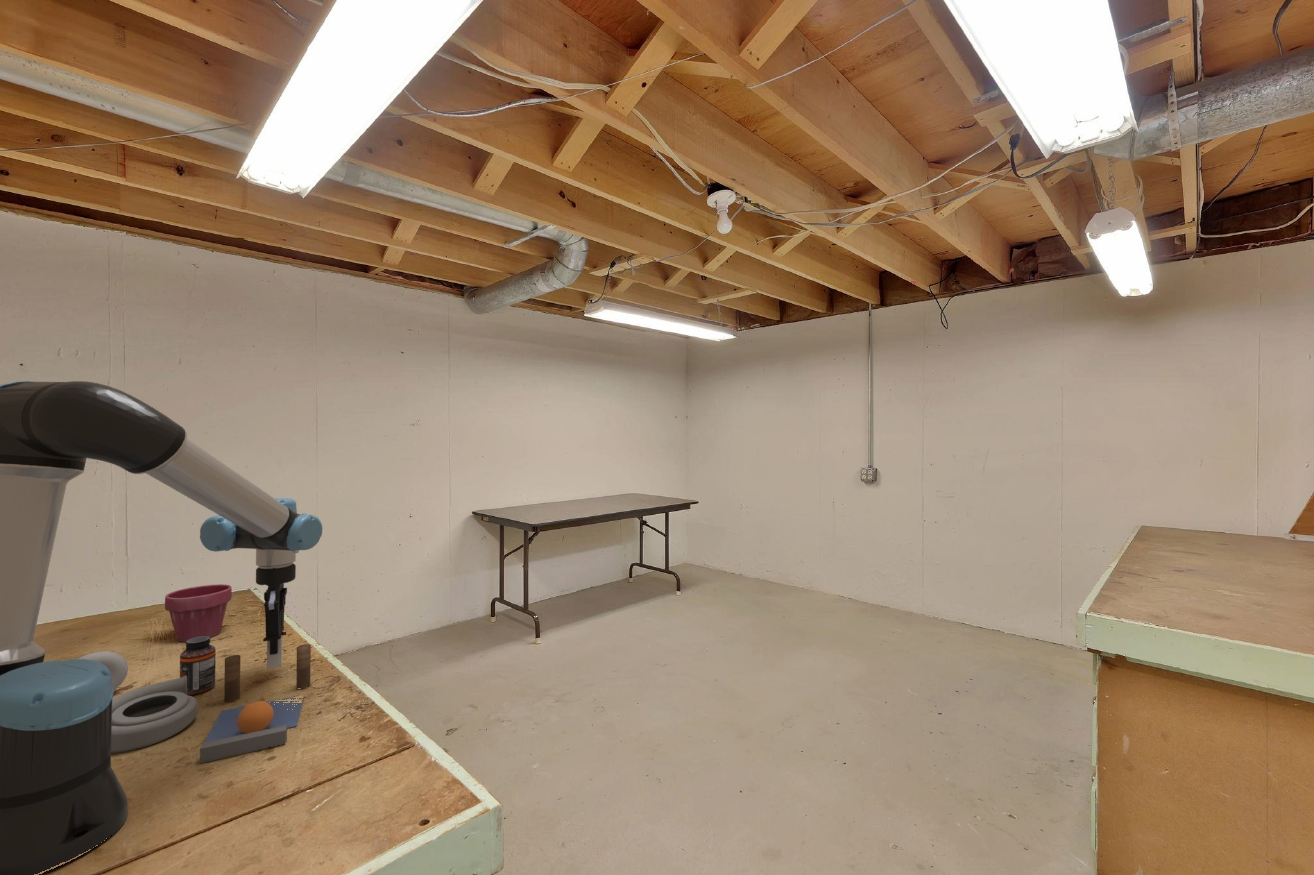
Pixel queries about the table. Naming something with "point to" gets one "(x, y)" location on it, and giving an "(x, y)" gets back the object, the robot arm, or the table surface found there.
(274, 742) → the stopper
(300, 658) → the post right
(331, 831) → the table surface
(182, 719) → the turbocharger housing
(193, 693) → the supplement bottle
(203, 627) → the plant pot
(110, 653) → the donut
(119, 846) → the table surface
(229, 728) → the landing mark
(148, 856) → the table surface
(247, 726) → the orange egg
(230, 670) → the post left
